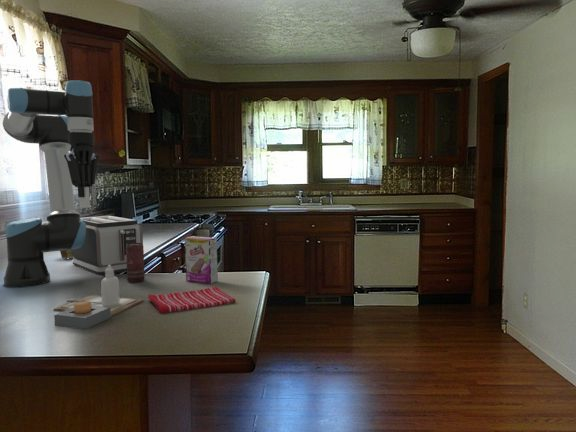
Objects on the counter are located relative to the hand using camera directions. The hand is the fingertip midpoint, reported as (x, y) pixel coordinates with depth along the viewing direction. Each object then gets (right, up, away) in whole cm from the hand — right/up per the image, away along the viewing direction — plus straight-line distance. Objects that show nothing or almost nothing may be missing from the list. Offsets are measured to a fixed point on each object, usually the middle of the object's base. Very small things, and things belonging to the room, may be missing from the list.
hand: (84, 207), depth 152 cm
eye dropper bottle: (+11, -30, -7) cm, 32 cm away
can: (+8, -27, +27) cm, 39 cm away
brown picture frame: (+7, -30, -6) cm, 31 cm away
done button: (+8, -30, -21) cm, 37 cm away
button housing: (+8, -32, -21) cm, 39 cm away
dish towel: (+34, -30, -2) cm, 46 cm away
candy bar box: (+33, -27, +25) cm, 49 cm away
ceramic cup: (-39, -23, +75) cm, 88 cm away
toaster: (-13, -25, +53) cm, 60 cm away
